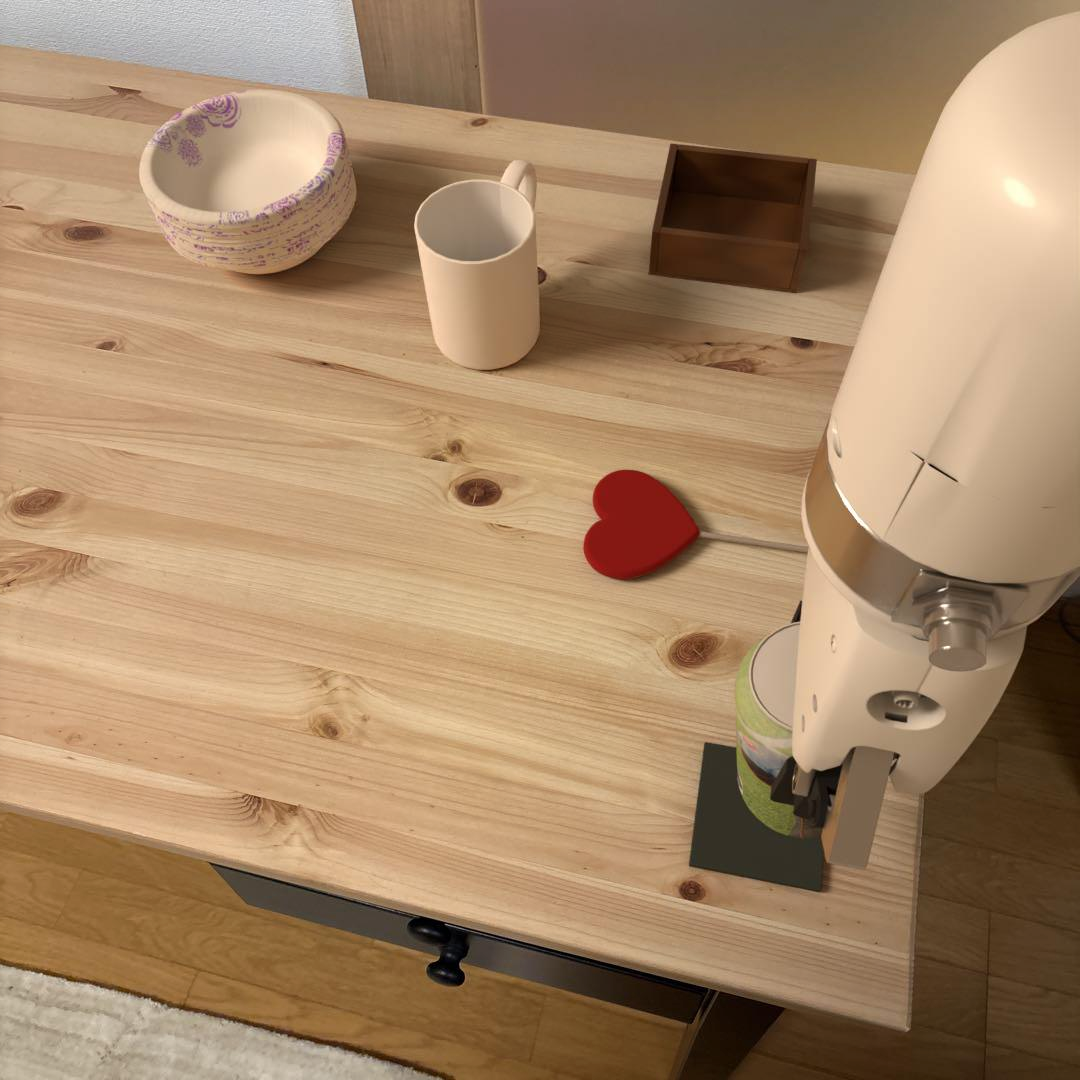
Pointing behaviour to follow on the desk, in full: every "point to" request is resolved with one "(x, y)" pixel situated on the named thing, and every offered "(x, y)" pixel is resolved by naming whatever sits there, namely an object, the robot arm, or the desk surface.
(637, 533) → the lollipop
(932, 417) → the robot arm
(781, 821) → the beverage can
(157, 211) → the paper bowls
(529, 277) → the mug
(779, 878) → the coaster
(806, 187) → the wooden box
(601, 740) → the desk surface
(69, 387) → the desk surface
